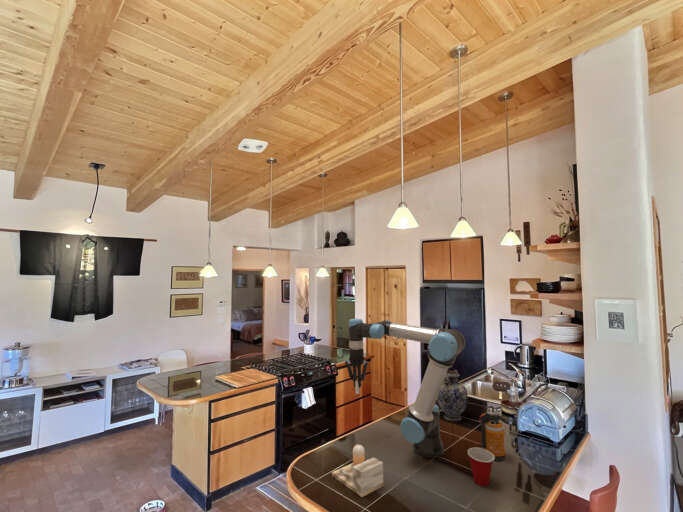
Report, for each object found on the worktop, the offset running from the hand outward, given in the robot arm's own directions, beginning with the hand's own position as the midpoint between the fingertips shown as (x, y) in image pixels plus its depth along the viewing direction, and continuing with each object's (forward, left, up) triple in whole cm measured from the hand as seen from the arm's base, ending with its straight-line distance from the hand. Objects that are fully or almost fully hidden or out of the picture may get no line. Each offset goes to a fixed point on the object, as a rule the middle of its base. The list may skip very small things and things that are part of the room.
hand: (357, 393), depth 186 cm
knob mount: (-10, +32, -26) cm, 42 cm away
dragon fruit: (-64, -44, -26) cm, 82 cm away
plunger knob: (-12, +33, -24) cm, 42 cm away
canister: (-65, -10, -26) cm, 71 cm away
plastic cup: (-60, +15, -26) cm, 67 cm away
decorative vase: (-43, -52, -26) cm, 73 cm away
